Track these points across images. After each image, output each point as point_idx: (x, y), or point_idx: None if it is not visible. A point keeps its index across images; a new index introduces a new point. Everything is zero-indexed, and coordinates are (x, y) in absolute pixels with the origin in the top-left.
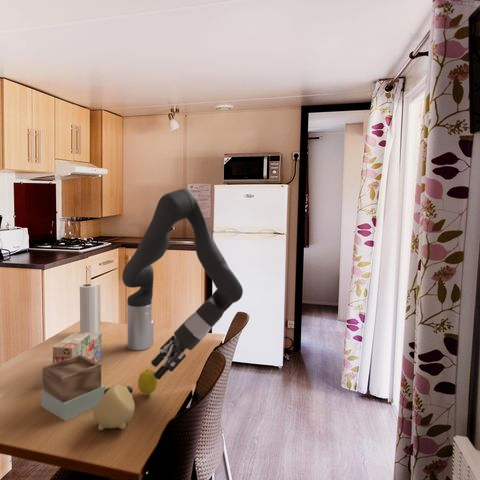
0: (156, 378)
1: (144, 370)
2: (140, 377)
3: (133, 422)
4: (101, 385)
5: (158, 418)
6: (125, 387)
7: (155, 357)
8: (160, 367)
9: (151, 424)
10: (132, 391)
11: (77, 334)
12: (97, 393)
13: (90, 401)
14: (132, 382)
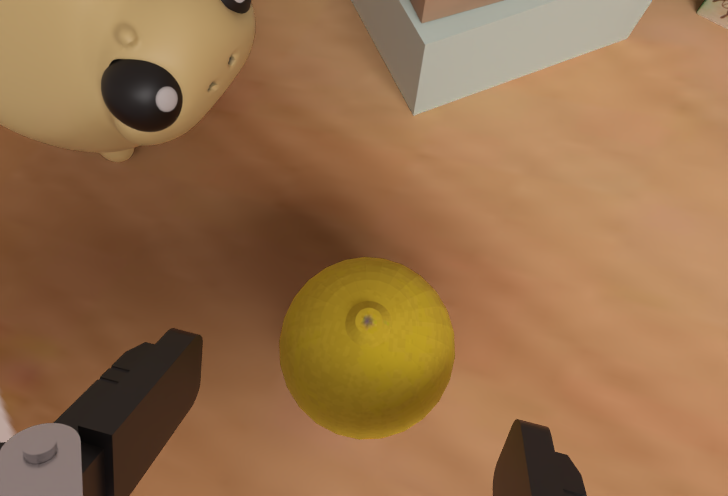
0: (317, 418)
1: (403, 301)
2: (356, 259)
3: (102, 188)
4: (445, 28)
5: (37, 326)
6: (110, 38)
7: (554, 488)
8: (120, 401)
9: (10, 267)
10: (120, 119)
11: None
12: (397, 21)
13: (375, 10)
14: (607, 326)
